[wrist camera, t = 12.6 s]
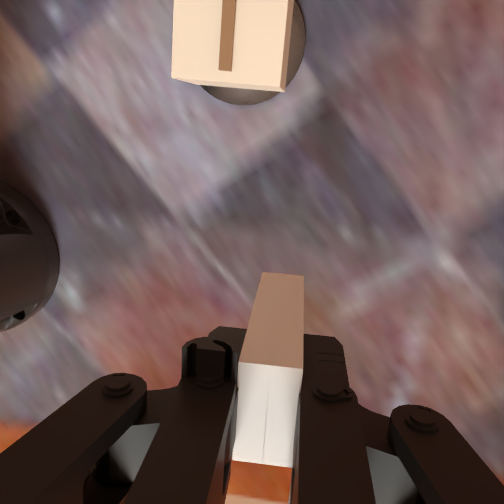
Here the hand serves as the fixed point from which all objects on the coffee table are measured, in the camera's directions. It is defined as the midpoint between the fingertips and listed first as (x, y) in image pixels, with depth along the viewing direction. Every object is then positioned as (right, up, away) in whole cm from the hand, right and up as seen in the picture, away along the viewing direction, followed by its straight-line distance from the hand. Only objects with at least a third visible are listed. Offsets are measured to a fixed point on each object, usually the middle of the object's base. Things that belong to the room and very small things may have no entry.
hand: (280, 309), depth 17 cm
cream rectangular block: (-2, +19, +21) cm, 29 cm away
